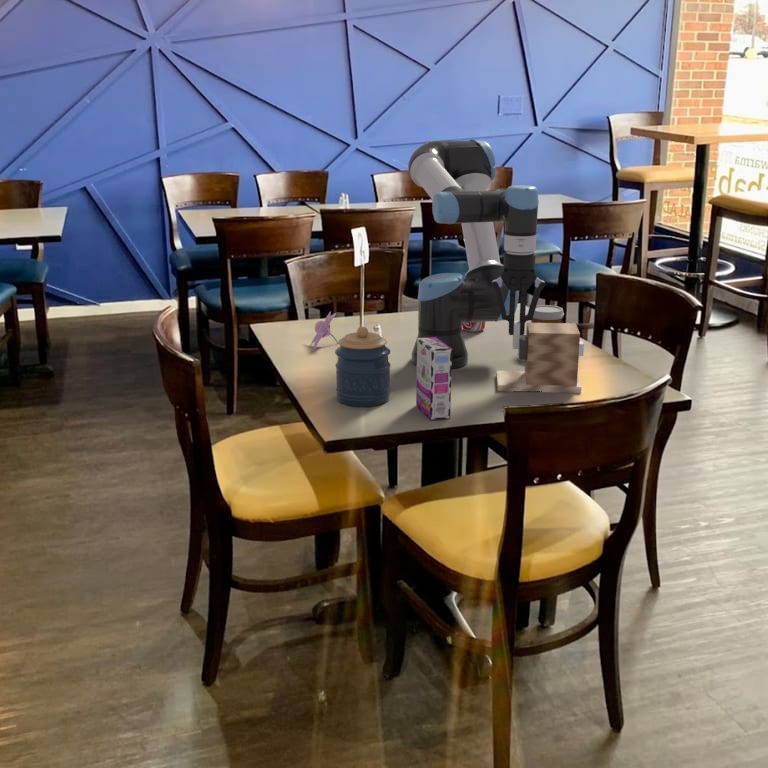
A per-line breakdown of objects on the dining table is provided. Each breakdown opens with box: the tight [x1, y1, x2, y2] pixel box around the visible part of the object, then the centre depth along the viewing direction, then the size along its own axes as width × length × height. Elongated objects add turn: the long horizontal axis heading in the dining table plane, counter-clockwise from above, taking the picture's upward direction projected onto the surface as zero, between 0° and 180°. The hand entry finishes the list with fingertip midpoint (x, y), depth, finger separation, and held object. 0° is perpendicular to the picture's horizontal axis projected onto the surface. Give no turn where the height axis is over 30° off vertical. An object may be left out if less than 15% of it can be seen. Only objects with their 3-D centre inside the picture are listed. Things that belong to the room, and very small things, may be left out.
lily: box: [311, 311, 339, 351], centre depth 263 cm, size 12×12×10 cm
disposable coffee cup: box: [530, 304, 565, 323], centre depth 255 cm, size 10×10×12 cm
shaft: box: [517, 334, 585, 361], centre depth 225 cm, size 16×5×5 cm, turn 85°
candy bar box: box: [415, 337, 453, 421], centre depth 207 cm, size 11×5×16 cm, turn 16°
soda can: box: [462, 322, 486, 333], centre depth 277 cm, size 7×7×12 cm
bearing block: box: [496, 322, 582, 394], centre depth 226 cm, size 20×12×14 cm, turn 85°
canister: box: [334, 326, 392, 408], centre depth 216 cm, size 13×13×18 cm
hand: (515, 347), depth 226 cm, fingers closed
